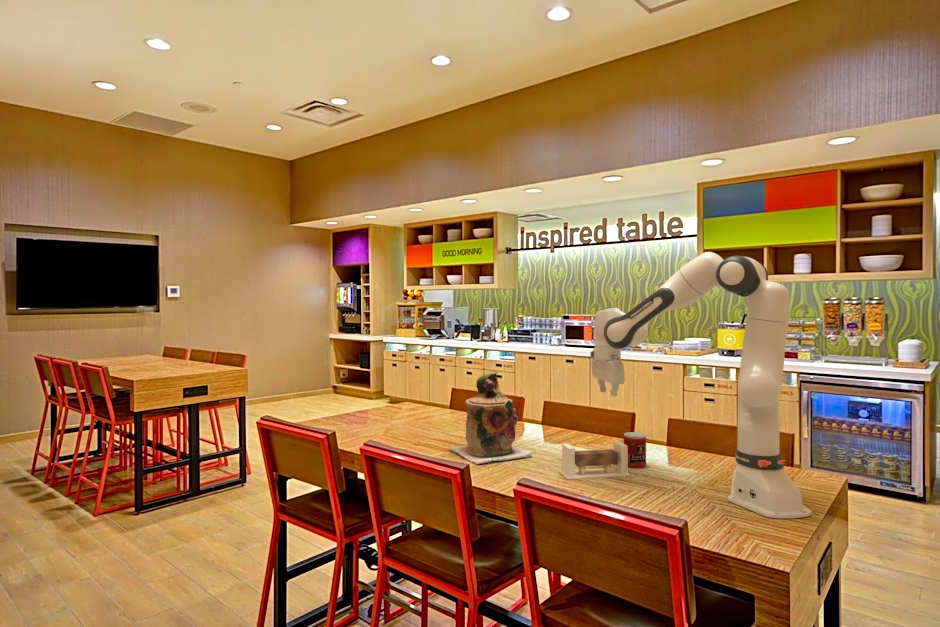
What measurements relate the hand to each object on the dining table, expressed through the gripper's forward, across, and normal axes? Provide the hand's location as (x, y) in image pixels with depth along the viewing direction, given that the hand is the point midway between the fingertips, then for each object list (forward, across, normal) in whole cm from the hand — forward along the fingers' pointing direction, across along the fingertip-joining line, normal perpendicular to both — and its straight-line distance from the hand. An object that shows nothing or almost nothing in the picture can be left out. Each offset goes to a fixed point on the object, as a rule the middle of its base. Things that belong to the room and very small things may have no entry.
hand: (608, 393), depth 204 cm
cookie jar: (+26, +28, +36) cm, 52 cm away
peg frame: (+26, -5, +7) cm, 28 cm away
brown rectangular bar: (+22, -5, +7) cm, 24 cm away
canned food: (+26, +3, -11) cm, 29 cm away
